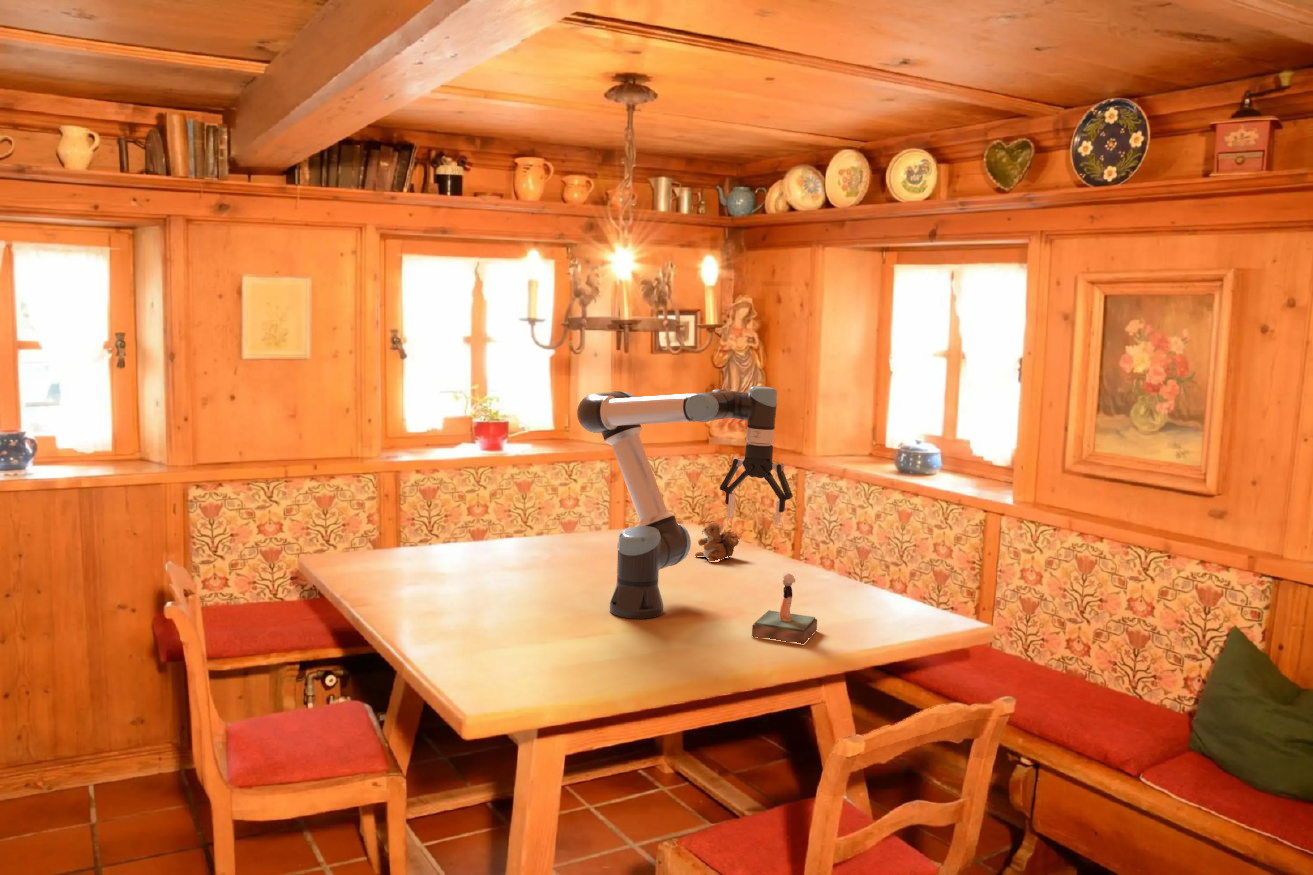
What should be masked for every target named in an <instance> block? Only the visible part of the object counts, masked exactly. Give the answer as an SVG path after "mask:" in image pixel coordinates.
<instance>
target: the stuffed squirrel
mask: <svg viewBox="0 0 1313 875" xmlns="http://www.w3.org/2000/svg"><path fill="white" fill-rule="evenodd" d="M723 528H724V526H723V525H720V524H718V523H717V522H715V521H711V522H710V523H708V524H707V525H706V526H705V527H704V528H703V529H702V530H701V535H703V534H705V536H706V537H704V538H699V540H698V541H697V543H698V545H699V546H701V547H703V551H702V552H701V551H698V552H695V554H694V556H704V557H706V558H709V559H708V562H709V561H715V560H718V559H720V560H721V559H723V558H725V557H727V556H728V557H729V556H731V557H732V556H733V554H734V551H735V550H734V549H735V547H737V546H738V545H739V544H740V541H739V540H740V539H741V538H740V537H739V536H738V534H737V533H735V532H734V531H730V530H728V531H723V532H721V531H722V530H723ZM723 560H724V559H723Z"/></svg>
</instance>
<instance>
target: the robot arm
mask: <svg viewBox="0 0 1313 875" xmlns="http://www.w3.org/2000/svg"><path fill="white" fill-rule="evenodd" d="M777 402H778V392H777V390H776V388H774V387H769V386H761V385H760V386H757V385H756V386H751V387H750V388H749V391H748V392H743V391H736V390H728V389H718V388H717V389H713V390H712V391H711V392H695V393H683V394H671V395H670V394H668V395H667V394H666V395H654V396H653V395H652V396H637V397H636V396H634V395H633V394H631V393H630V392H626V391H620V390H614V391H608V392H595V393H594V392H593V393H591V394H588V395H586V396H585V397H583V398H582V399H581V400H580V402H579V404H578V407H577V411H576V417H577V421H578V422H579V425H580V426H581V427H582V428H583V429H584V430H585V431H587V432H590V433H592V434H601V435H602V437H603V440H604V442H605V444H608V445H609V446H611V447H612V450H613V452H614V455H615V459H616V461H617V464H618V466H619V469H620V471H621V474H622V477H623V479H624V482H625V485H626V487H627V491H628V493H629V496H630V498H631V502H632V505H633V507H634V510H635V512H636V515H637V518H638V520H639V523H638V525H637V526H630V527H627V528H625V529H623V530H622V531H621V532H619V535H618V543H617V567H616V568H617V569H616V570H617V571H616V585H615V588H614V590H613V594H612V596H611V599H610V602H609V612H610V613H611V614H613V615H614V616H616V617H620V618H626V619H635V620H636V619H637V620H638V619H640V620H642V619H644V620H645V618H646V619H652V618H651V617H653V618H656V617H655V616H657V617H660V616H661V614H662V613H663V614H664V602H663V598H662V595H661V591H660V588H659V577H660V576H659V572H660V571H659V570H662V569H665V568H668V567H673V566H675V565H677V564H678V563H681V562H683V560H685V559H686V558H687V556H688V555H689V552H690V551H691V545H692V544H691V543H692V542H691V536H690V533H689V532H688V529H687V528H686V527H685V526H682V524H680V523H678V522H677V519H676V516H675V514H674V513H671V512H669V511H668V510H667V506H666V505H665V501H664V499H663V497H662V494H661V490H660V487H659V485H658V482H657V480H656V478H655V474H654V472H653V470H652V466H651V464H650V461H649V458H648V456H647V454H646V449H645V448H644V445H643V442H642V440H641V438H640V434H641V432H642V425H650V424H651V425H652V424H653V425H654V424H670V423H671V424H672V423H686V422H687V423H688V422H699V423H703V422H705V423H706V422H711V421H714V420H716V421H717V420H724V419H725V420H726V419H735V420H741V421H742V420H743V421H746V423H747V424H746V438H745V441H746V442H747V443H746V444H745V450H744V459H741V458H739V457H735V458H733V459H732V465H731V467H730V469H729V470H728V472H727V474H726V475H725V477H724V479H723V481H722V482H721V485H720V486H719V490H720V491H723V492H725V498H724V499H725V505H727V506H728V508H727V518H731V517H733V516H734V511H735V510H734V509H735V498H736V497H735V496H736V493H735V492H733V491H734V490H735V489H737V487H739V485H740V484H742V482H743V481H744V480H745V479H746V478H747V477H748V476H750V477H751V478H758V479H763V478H764V480H765V481H766V482H767V483H768V485H769V487H770V488H771V489H772V491H773V492H774V493H775V495H776V497H777V498H778V499H777V500H776V502H775V504H776V505H775V513H774V525H779V524H780V523H781V516H782V513H784V512H785V509H786V501H787V500H790V499H792V498H793V492H792V490H791V486H790V485H789V483H788V479H787V477H786V475H785V470H784V469H785V468H784V464H783V463H774V462H773V456H774V455H773V454H774V445H772V444H774V442H775V441H774V440H775V429H776V427H775V424H776V415H777V406H778V403H777ZM741 466H743V468H744V469H745V470H744V471H743V472H741V474H740V475H739V476H738V477H737V478H736V479H735V480H734V481H733V482H732V483H731V481H732V479H733V478H734V476H735V474H736V472H737V471H738V469H739V467H741ZM772 470H774V472H775V473H776V475H777V478H778V480H779V483H780V485H779V484H778V482H777V481H776V479H775V478H774V476H773V474H772V473H771V471H772ZM730 483H731V484H730ZM729 484H730V485H729ZM780 486H781V487H780ZM663 614H662V615H663Z"/></svg>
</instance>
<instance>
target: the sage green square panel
mask: <svg viewBox="0 0 1313 875" xmlns="http://www.w3.org/2000/svg"><path fill="white" fill-rule="evenodd" d="M779 613H780V611H777V610H770V609H769V610H768V611H766V612H765V613H764V614H762V615H761V617H759V618H758V619H757V620H756V621H755V622H754V623H753V624H752V625H751V626H752V628H751V637H752V636H753V637H758V638H770V639H776V640H781V641H786V642H797V643H801V644H804V643H805V642H806V641H807V640H808V638H810V637H811V636H812V634H813V633H814V632H815V631H816V630H817V631H818V619H817V618H816V617H815V616H811V615H803V614H798V613H797V614H796V613H790V618H791V620H792V621H791V622H784V621H781V619H782V618H780V617H779ZM817 631H816V632H817ZM812 637H813V636H812ZM812 637H811V638H812ZM758 638H757V639H758ZM811 638H810V639H811ZM808 641H809V640H808Z"/></svg>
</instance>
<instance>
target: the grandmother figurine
mask: <svg viewBox="0 0 1313 875" xmlns="http://www.w3.org/2000/svg"><path fill="white" fill-rule="evenodd" d="M782 583H783V586H784V587H783V592H782V593H783V597H782V601H781V604H780V608H779V612H780V613H779V617H780V618H782V619H781V621H784V622H791V621H792V620H791V618H790V614H791V606H792V602H793V601H792V600H793V589H792V585H793V584H795V583H796V578H795V577H794V575H793V574H791V573H790V572H785V573H784V574H783V580H782Z"/></svg>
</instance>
